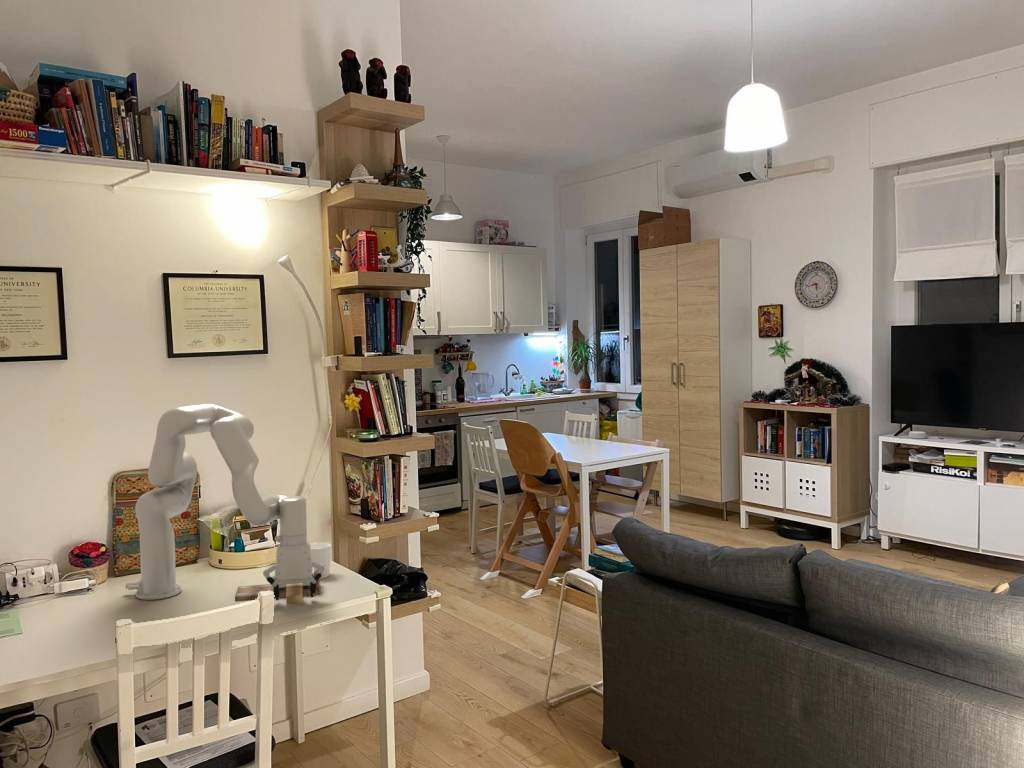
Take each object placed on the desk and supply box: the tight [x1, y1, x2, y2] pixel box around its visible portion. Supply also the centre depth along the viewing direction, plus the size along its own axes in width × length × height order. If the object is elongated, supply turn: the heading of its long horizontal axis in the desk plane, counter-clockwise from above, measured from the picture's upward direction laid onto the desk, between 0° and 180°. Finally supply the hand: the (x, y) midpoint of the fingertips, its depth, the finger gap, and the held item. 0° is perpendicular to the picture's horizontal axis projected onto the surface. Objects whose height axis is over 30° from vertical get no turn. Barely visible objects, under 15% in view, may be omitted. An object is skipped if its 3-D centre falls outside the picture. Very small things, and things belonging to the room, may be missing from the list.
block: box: [285, 583, 304, 607], centre depth 225 cm, size 4×4×5 cm
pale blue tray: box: [272, 567, 314, 591], centre depth 235 cm, size 12×8×5 cm, turn 104°
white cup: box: [309, 542, 332, 580], centre depth 251 cm, size 8×8×10 cm
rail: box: [234, 570, 320, 602], centre depth 234 cm, size 24×10×5 cm, turn 104°
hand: (294, 597), depth 225 cm, fingers open, 9 cm apart
